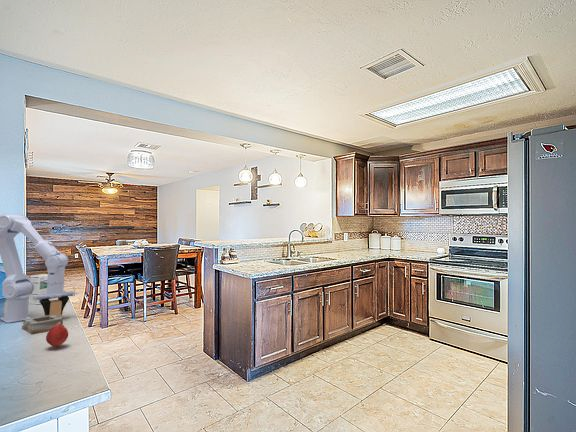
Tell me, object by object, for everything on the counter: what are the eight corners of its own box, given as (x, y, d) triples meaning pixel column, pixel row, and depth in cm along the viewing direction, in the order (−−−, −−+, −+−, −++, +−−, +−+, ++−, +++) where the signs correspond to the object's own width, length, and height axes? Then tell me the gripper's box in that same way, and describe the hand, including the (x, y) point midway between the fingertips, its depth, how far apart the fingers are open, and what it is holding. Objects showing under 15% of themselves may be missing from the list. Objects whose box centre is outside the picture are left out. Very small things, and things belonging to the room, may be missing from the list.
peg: (45, 320, 132) (46, 301, 132) (56, 318, 135) (58, 299, 136) (49, 322, 130) (50, 302, 130) (60, 320, 133) (61, 300, 133)
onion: (43, 351, 99) (45, 325, 99) (47, 345, 104) (49, 321, 104) (66, 349, 102) (67, 323, 102) (68, 343, 107) (70, 319, 107)
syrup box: (37, 304, 158) (39, 275, 159) (28, 304, 159) (30, 275, 160) (48, 302, 163) (50, 274, 164) (39, 301, 165) (41, 273, 165)
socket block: (21, 328, 121) (22, 319, 121) (52, 322, 129) (53, 314, 129) (31, 334, 114) (32, 324, 115) (63, 328, 123) (64, 318, 123)
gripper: (38, 286, 125) (35, 321, 124) (78, 282, 137) (76, 313, 136) (31, 284, 129) (29, 317, 128) (72, 280, 141) (70, 311, 140)
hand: (53, 315), depth 133 cm, fingers closed on peg, 4 cm apart
